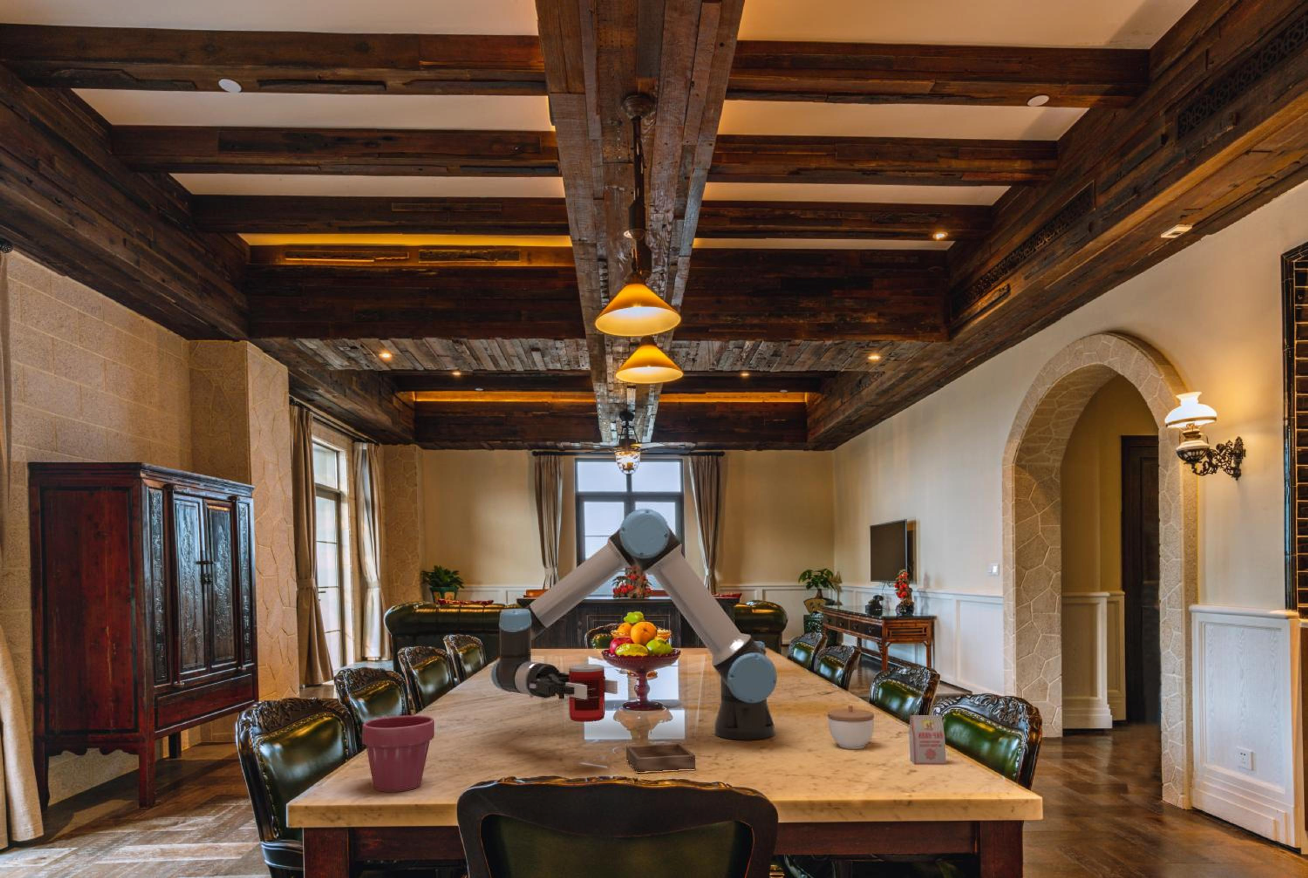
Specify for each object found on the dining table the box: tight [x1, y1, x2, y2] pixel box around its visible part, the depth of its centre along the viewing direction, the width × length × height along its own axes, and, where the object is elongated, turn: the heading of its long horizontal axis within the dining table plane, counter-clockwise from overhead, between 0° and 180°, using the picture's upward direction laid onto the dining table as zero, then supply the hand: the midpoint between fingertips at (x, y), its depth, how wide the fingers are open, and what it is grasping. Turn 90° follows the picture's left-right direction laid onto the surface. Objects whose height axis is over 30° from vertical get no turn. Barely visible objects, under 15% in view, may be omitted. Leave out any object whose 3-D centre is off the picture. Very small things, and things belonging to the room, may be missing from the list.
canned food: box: [568, 663, 606, 723], centre depth 191 cm, size 8×8×11 cm
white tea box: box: [908, 714, 947, 766], centre depth 193 cm, size 4×7×10 cm, turn 87°
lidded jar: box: [827, 704, 875, 750], centre depth 209 cm, size 11×11×9 cm
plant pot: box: [361, 715, 435, 793], centre depth 178 cm, size 14×14×13 cm
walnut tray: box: [625, 742, 696, 772], centre depth 193 cm, size 13×13×3 cm
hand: (601, 689), depth 188 cm, fingers closed on canned food, 8 cm apart
